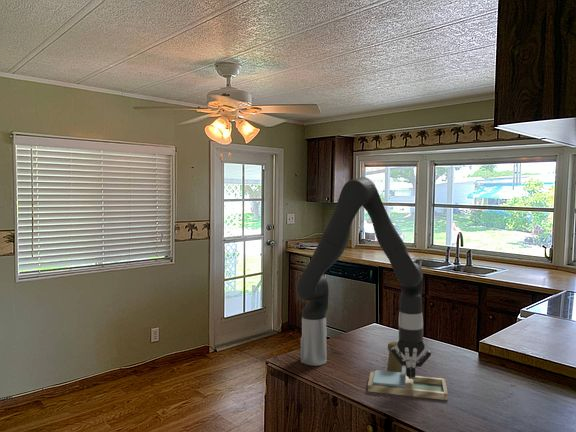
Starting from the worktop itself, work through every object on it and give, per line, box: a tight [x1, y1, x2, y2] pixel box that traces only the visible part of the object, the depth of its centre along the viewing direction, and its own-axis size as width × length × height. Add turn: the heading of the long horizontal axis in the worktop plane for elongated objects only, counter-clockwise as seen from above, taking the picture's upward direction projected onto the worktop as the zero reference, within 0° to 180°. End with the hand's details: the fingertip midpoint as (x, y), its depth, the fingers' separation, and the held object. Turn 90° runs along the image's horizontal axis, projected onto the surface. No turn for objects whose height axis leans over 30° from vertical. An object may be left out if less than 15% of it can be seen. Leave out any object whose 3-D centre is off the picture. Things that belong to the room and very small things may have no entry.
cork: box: [386, 341, 404, 373], centre depth 148 cm, size 6×6×11 cm
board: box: [367, 371, 449, 401], centre depth 137 cm, size 24×11×2 cm, turn 74°
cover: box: [373, 366, 406, 387], centre depth 138 cm, size 10×10×3 cm
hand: (410, 377), depth 137 cm, fingers closed
